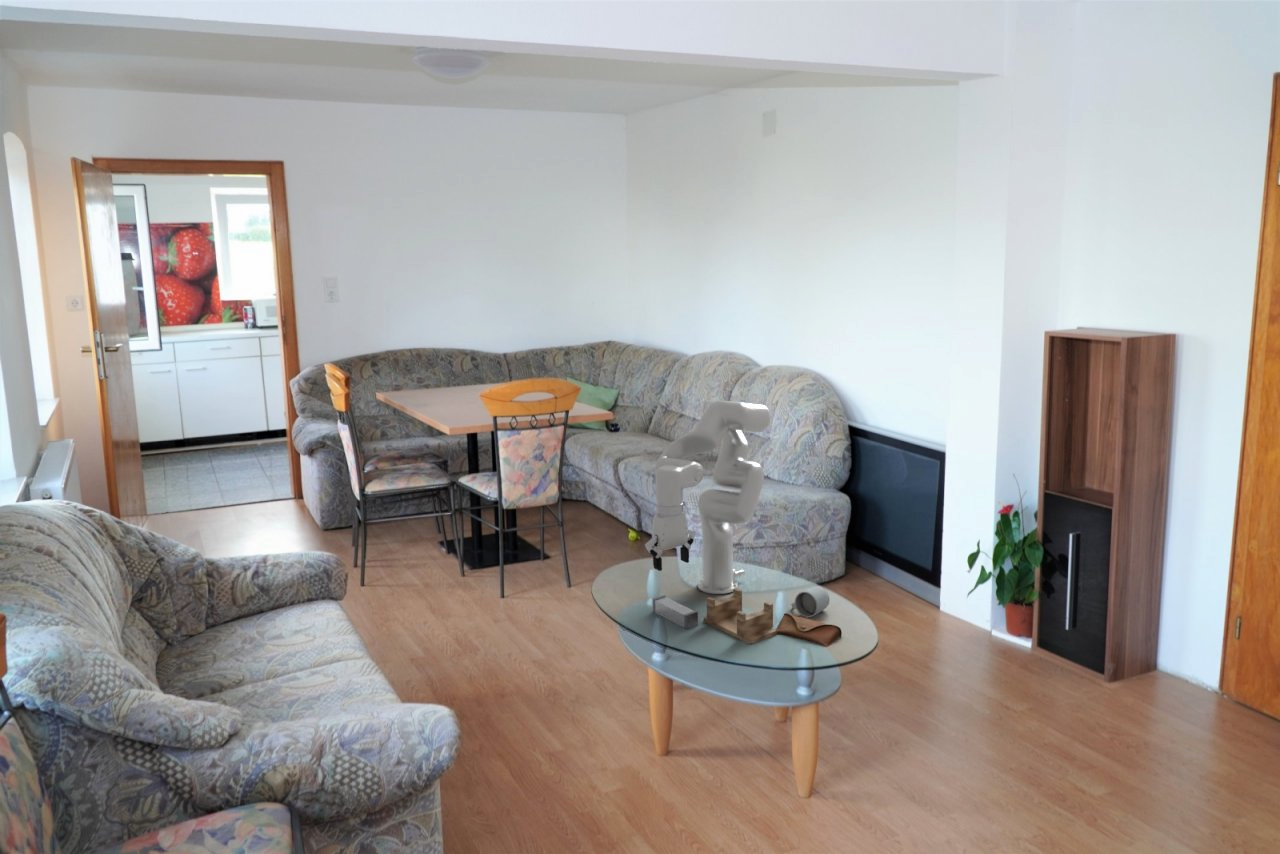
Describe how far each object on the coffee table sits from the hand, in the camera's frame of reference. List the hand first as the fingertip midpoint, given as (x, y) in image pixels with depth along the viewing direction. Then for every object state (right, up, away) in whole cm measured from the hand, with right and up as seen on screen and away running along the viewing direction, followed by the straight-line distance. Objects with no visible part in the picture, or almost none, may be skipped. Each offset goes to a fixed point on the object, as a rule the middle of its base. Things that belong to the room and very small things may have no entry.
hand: (671, 565), depth 295 cm
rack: (+19, -17, -4) cm, 26 cm away
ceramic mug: (+40, -15, +6) cm, 43 cm away
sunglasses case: (+37, -19, -9) cm, 43 cm away
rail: (+1, -16, +4) cm, 17 cm away
